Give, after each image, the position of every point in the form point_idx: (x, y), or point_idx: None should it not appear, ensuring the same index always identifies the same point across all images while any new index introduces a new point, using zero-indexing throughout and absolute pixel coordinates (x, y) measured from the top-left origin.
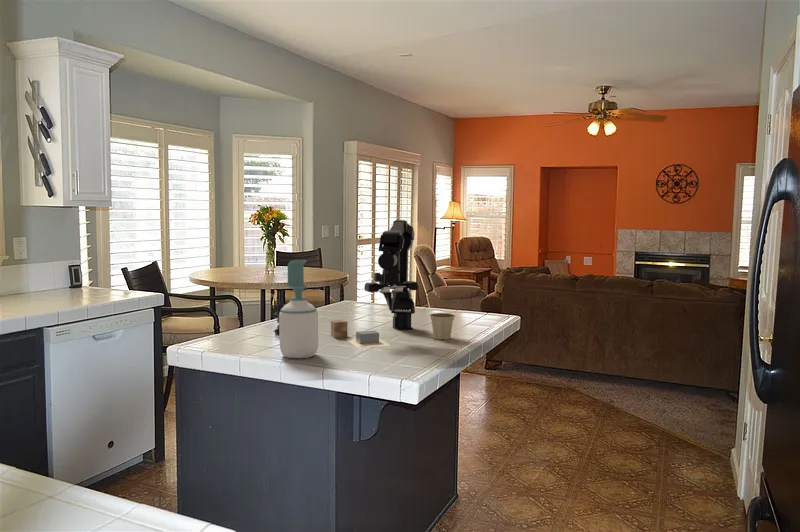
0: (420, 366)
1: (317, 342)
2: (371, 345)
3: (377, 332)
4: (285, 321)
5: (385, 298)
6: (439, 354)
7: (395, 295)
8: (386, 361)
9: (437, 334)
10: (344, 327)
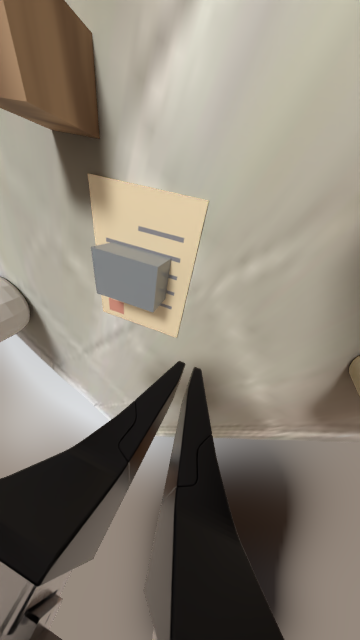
0: None
1: (11, 332)
2: (136, 311)
3: (151, 303)
4: None
5: (110, 423)
6: (212, 420)
7: (158, 525)
8: (124, 391)
9: (354, 383)
10: (45, 115)
